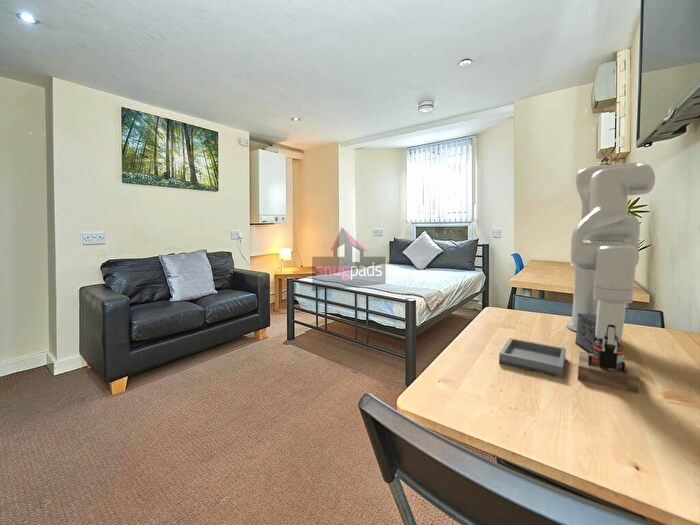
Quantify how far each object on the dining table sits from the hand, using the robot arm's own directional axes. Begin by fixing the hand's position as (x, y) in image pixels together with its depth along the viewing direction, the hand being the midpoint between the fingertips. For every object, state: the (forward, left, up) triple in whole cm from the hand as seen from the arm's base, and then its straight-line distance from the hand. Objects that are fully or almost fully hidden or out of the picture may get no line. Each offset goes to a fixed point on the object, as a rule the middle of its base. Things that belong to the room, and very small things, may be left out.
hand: (606, 361), depth 79 cm
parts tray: (0, -17, -4) cm, 17 cm away
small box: (-20, -2, -4) cm, 21 cm away
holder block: (0, 0, -4) cm, 4 cm away
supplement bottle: (0, 0, -4) cm, 4 cm away
